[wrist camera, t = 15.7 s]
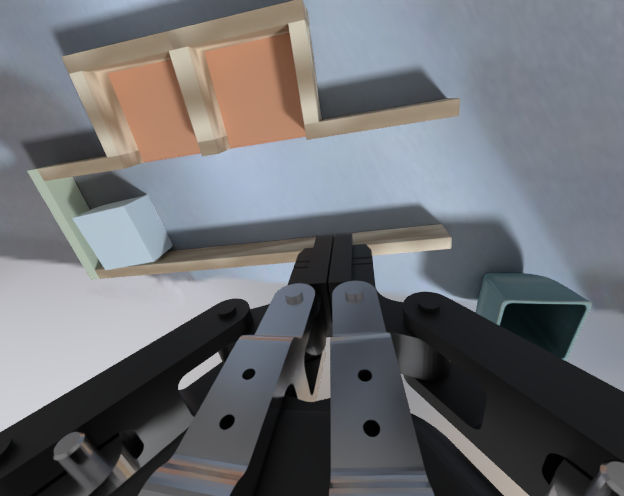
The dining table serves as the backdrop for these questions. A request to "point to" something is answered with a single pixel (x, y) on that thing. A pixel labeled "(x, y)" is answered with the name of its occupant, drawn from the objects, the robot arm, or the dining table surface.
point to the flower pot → (534, 309)
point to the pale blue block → (124, 232)
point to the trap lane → (214, 122)
